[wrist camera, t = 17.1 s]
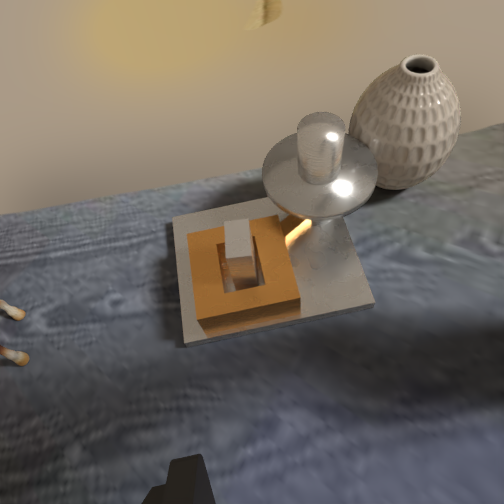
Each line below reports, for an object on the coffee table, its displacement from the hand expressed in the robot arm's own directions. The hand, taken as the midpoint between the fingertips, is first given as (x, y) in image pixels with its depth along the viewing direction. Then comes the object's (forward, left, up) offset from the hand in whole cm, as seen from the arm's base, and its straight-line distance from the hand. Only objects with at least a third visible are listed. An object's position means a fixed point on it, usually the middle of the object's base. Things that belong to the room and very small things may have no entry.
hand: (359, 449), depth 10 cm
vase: (-20, -35, -33) cm, 52 cm away
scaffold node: (-2, -26, -33) cm, 42 cm away
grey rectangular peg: (+3, -21, -31) cm, 38 cm away
